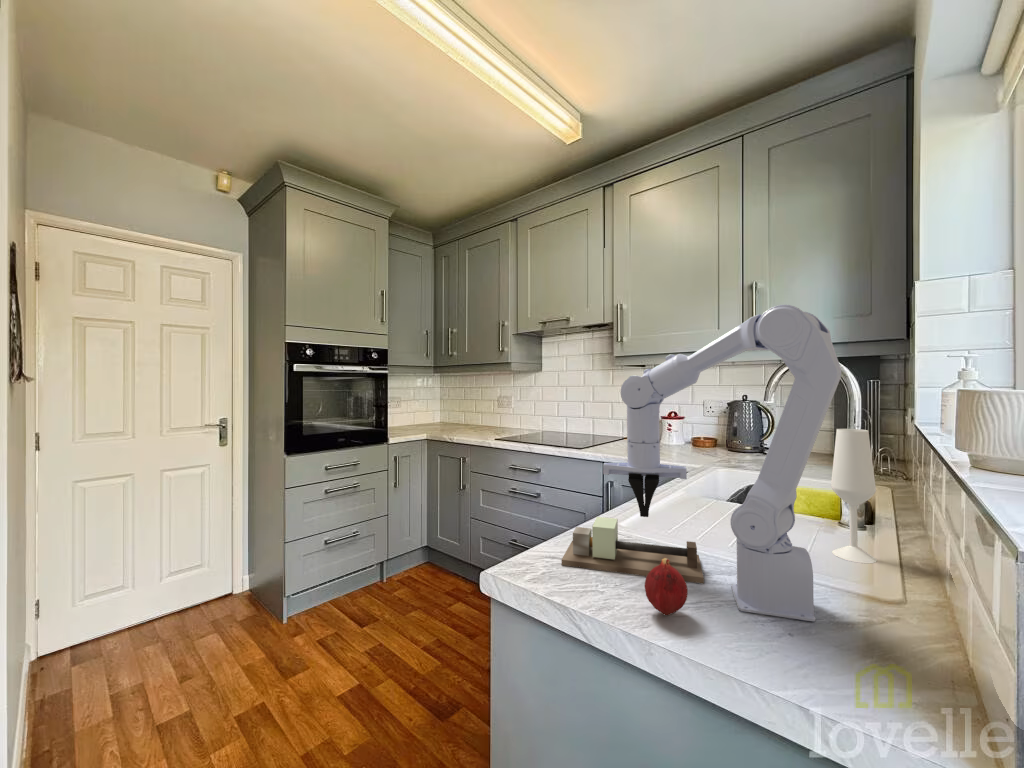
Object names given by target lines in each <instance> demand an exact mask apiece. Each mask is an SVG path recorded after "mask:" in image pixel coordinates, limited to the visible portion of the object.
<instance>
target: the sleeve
mask: <svg viewBox="0 0 1024 768" xmlns="http://www.w3.org/2000/svg"><path fill="white" fill-rule="evenodd" d="M618 521H619V520H618V518H615V517H614V518H613V517H612V518H611V517H603V516H596V518H595V519H594V522H593V525H592V526H591V527H592V528H591V531H592V544H593V557H598V558H606V559H614V560H615V557H616V553H617V549H616V541H619V535H618V534H619V522H618Z"/></svg>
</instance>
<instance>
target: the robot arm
mask: <svg viewBox="0 0 1024 768" xmlns="http://www.w3.org/2000/svg"><path fill="white" fill-rule="evenodd" d="M830 331H831V330H829V328H827V326H826V325H825V324H824V323H823V322H822V321H821V320H820V319H819V317H817V316H816V315H814V314H812V313H810V312H807V311H803V310H801V309H800V308H799V307H797V306H794V305H791V304H778V305H775V306H772V307H770V308H769V309H767V310H766V311H764V312H763V313H762V314H760V313H758V314H756V315H753V316H751V317H749V318H748V319H746V320H745V321H744V322H742V323H740V324H739V325H737V326H736V327H734V328H732V329H731V330H729V331H728V332H726V333H725V334H722V335H721V336H719V337H718V338H717V339H715V340H713V341H711V342H709V343H708V344H707V345H704V346H703V347H702V348H700V349H698V350H696V351H694V353H692V354H690V355H686V354H682V353H678V354H672V353H671V354H668V355H667V356H665V361H663V362H662V363H660V364H658V365H657V366H654V367H652V368H646V369H644V370H643V374H642V376H641V375H637V374H636V375H635V374H633V375H630V376H628V378H627V379H626V380H624V381H623V383H622V384H621V386H620V387H621V388H620V397H621V400H622V401H623V404H624V405H626V431H627V433H626V439H627V450H626V451H627V462H604V463H603V465H602V471H603V475H605V476H606V475H607V476H608V475H609V476H610V475H621V476H628V482H629V483H628V484H629V485H630V487H631V489H632V491H633V494H634V496H635V499H636V501H637V502H636V503H637V506H638V509H639V516H640V517H641V518H642V517H643V518H648V517H649V515H650V513H649V511H650V507H651V503H652V500H653V497H654V495H655V491H656V490H657V487H658V486H659V482H660V478H674V479H675V478H676V479H677V478H678V479H680V480H687V477H688V475H687V473H688V472H687V466H686V465H683V466H682V465H675V464H673V465H672V464H663V463H661V445H660V444H661V442H660V406H661V404H662V403H663V402H664V400H665V399H667V398H668V397H669V398H670V397H671V396H673V395H675V394H676V393H677V394H678V392H681V391H683V390H685V389H686V388H689V387H691V386H693V385H695V384H696V383H697V382H698V379H699V377H700V374H701V373H702V372H703V371H705V370H708V369H710V368H713V367H714V366H717V365H719V364H722V363H723V362H726V361H727V360H729V359H732V358H734V357H736V356H737V355H740V354H742V353H745V352H747V351H770V352H772V353H774V354H775V355H776V356H778V357H779V358H780V359H781V360H782V362H783V363H784V364H785V366H786V367H787V368H788V370H789V371H790V373H791V374H792V375H793V376H794V381H793V384H792V386H791V389H790V391H789V395H788V396H787V399H786V402H785V404H784V407H783V410H782V413H781V415H780V418H779V420H778V423H777V426H776V429H775V431H774V434H773V436H772V439H771V442H770V444H769V447H768V451H767V453H766V454H765V458H764V460H763V463H762V466H761V468H760V472H759V474H758V476H757V479H756V480H755V482H754V484H753V485H752V487H751V488H750V489H749V490H748V493H747V494H746V496H745V497H746V498H745V499H744V501H743V503H742V504H741V505H740V506H738V507H736V508H735V509H734V511H733V512H732V513H731V516H730V528H731V531H732V533H733V534H734V536H735V538H736V583H732V584H731V585H730V588H731V590H732V594H733V596H734V600H735V602H736V605H737V606H736V607H737V608H738V610H739V611H740V612H745V613H752V614H759V615H766V616H773V617H780V618H786V619H787V618H788V619H793V620H801V621H805V622H807V621H808V622H816V617H815V614H814V612H815V611H814V610H815V609H814V608H815V607H814V605H815V604H814V570H813V563H812V559H811V556H810V553H809V551H808V550H807V549H806V548H805V547H802V546H801V547H800V546H795V545H793V543H792V541H791V538H790V537H789V535H788V533H789V532H790V531H791V530H792V529H793V527H794V526H795V522H796V515H795V508H794V507H795V503H796V499H797V498H798V497H797V488H798V486H799V483H800V480H801V479H802V475H803V473H804V471H805V468H806V465H807V463H808V461H809V458H810V455H811V453H812V450H813V448H814V446H815V443H816V441H817V438H818V435H819V433H820V430H821V428H822V427H823V423H824V420H825V418H826V415H827V413H828V410H829V408H830V406H831V404H832V400H833V397H834V395H835V393H836V391H837V388H838V385H839V382H840V380H841V378H842V368H841V364H840V361H839V359H838V357H837V354H836V350H835V347H834V344H833V341H832V337H831V332H830Z"/></svg>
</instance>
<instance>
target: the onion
mask: <svg viewBox="0 0 1024 768" xmlns="http://www.w3.org/2000/svg"><path fill="white" fill-rule="evenodd" d="M669 562H670V560H668V559H667V558H664V559H662V562H661V564H660V565H658V566H656V567H654V568H653V569H652V570H651V571H650V572H649V573H648V575H647V576H645V580H644V592H645V596H646V599H647V600H648V602H649V603H650V604H651V605H652V606H653V608H654V609H656V610H657V612H659V613H661V614H662V615H663V616H670V615H672V614H674V613H677V612H678V611H679V610H681V609H682V608H683V606H684V605H685V604H686V603H687V601H688V600H687V599H688V595H689V594H688V586H687V581H685V580H684V578H683V577H682V575H681V574H680V573H679V572H678V571H677V570H676V569H675V568H674V567H672V566H671V565H670V563H669Z"/></svg>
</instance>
